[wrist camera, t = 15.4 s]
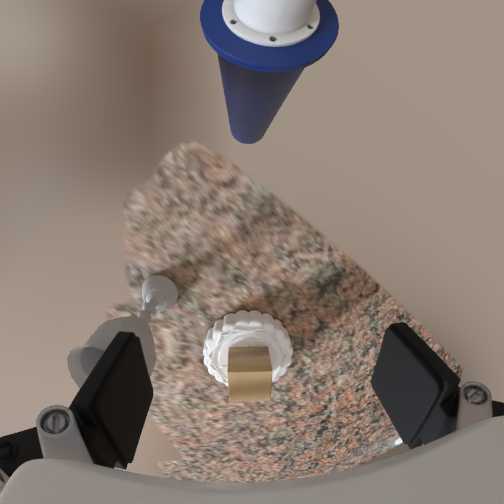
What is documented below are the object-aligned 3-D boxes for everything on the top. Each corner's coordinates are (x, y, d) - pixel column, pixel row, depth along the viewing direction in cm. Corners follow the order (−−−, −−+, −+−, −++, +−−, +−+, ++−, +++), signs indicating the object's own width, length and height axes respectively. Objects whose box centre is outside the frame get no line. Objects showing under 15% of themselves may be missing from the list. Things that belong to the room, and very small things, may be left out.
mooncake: (299, 314, 36) (304, 328, 32) (279, 380, 39) (282, 395, 35) (210, 302, 35) (207, 315, 31) (201, 371, 38) (199, 386, 34)
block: (228, 347, 33) (227, 372, 28) (268, 346, 33) (272, 371, 28) (230, 376, 34) (229, 401, 29) (267, 375, 34) (270, 400, 29)
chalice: (125, 288, 34) (56, 367, 16) (156, 256, 33) (89, 329, 15) (163, 325, 35) (121, 422, 18) (196, 297, 34) (166, 395, 17)
